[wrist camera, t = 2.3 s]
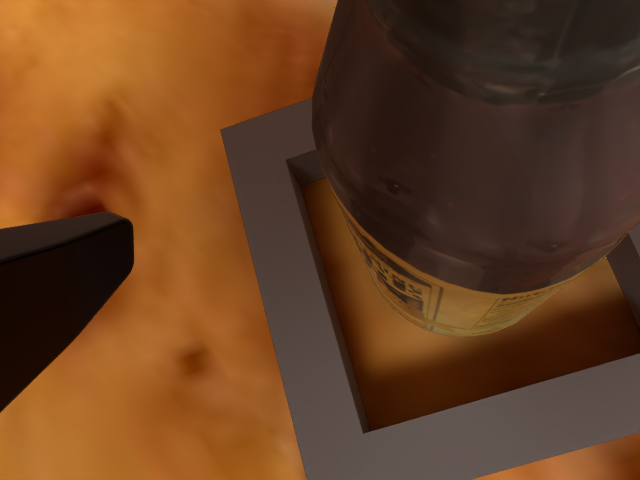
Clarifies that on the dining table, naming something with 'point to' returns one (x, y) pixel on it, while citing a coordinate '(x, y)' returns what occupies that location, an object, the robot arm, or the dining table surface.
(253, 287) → the dining table surface
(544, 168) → the sauce bottle
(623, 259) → the grey square frame
